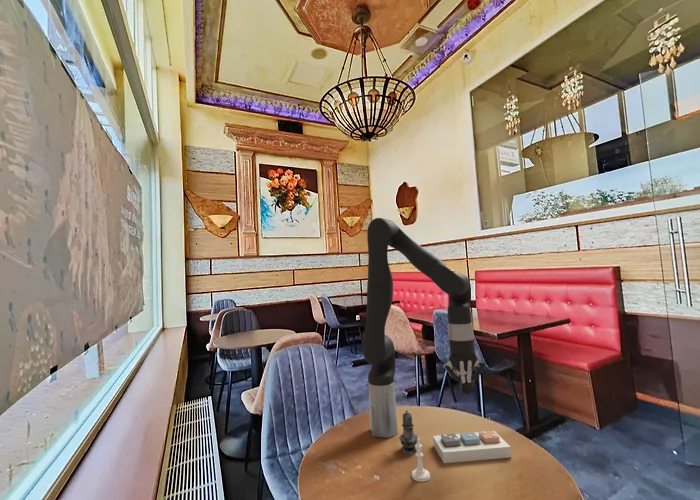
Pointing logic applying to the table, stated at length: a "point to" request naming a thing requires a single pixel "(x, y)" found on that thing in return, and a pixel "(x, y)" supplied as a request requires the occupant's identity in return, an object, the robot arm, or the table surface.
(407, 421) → the dark grey tall piece
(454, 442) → the three-dot button
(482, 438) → the two-dot button
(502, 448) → the button panel
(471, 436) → the one-dot button
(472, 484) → the table surface
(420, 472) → the chess piece
